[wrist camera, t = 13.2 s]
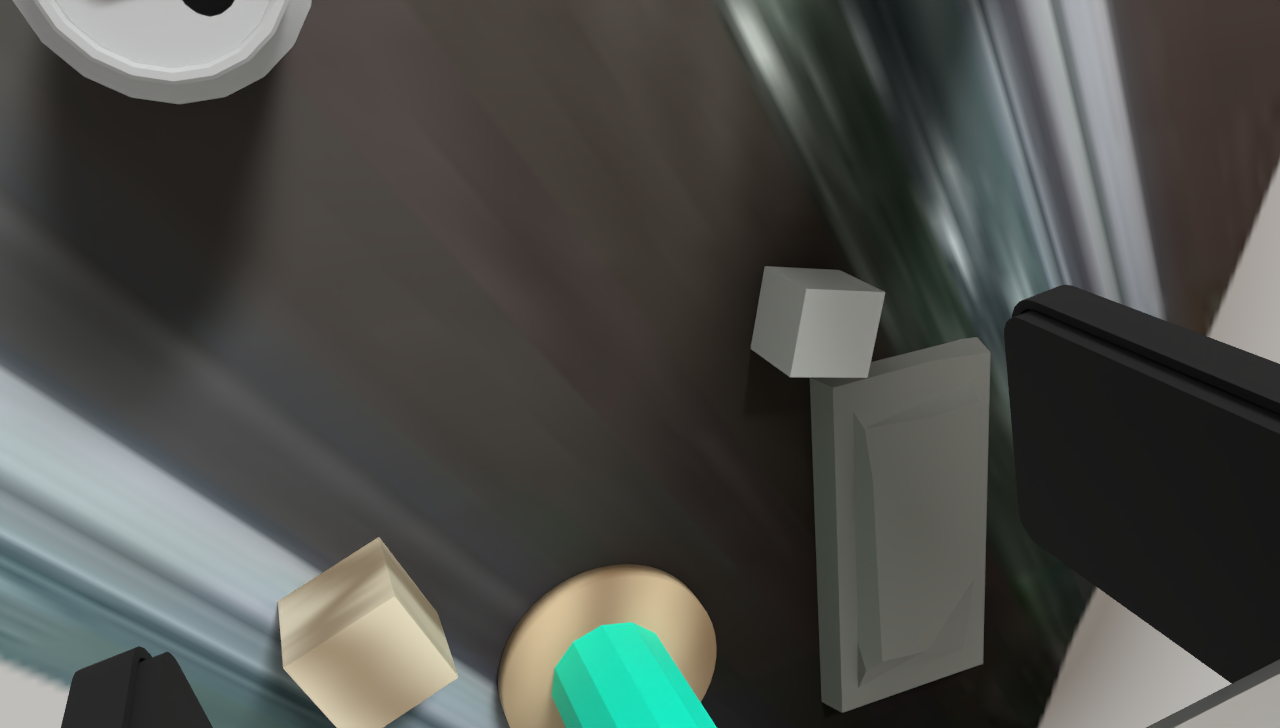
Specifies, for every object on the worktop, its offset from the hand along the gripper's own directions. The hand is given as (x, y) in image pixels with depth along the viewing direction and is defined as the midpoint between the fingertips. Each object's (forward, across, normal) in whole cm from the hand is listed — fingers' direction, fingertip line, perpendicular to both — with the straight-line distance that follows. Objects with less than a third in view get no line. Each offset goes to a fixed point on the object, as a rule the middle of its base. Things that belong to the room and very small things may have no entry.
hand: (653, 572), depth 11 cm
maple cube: (+32, +6, +20) cm, 39 cm away
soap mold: (+33, -20, +28) cm, 48 cm away
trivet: (+32, -3, +28) cm, 43 cm away
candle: (+31, -3, +28) cm, 42 cm away
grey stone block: (+33, -17, +13) cm, 39 cm away
